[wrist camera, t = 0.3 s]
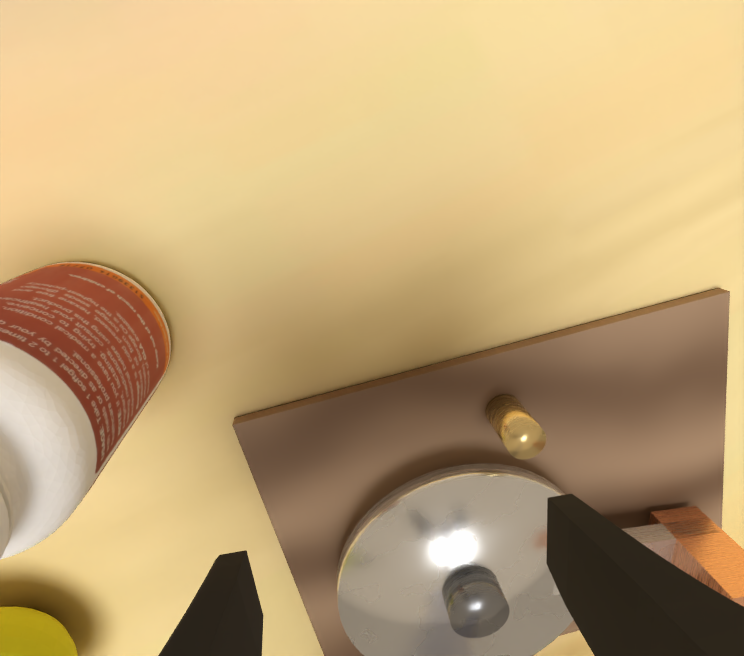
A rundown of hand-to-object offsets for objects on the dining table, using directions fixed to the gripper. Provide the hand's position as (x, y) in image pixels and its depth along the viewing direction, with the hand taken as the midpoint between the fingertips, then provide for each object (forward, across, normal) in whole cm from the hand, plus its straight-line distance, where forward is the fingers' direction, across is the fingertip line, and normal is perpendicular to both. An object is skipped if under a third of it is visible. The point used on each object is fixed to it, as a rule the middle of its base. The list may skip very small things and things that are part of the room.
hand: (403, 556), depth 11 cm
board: (+10, -6, +9) cm, 15 cm away
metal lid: (+9, -7, +10) cm, 15 cm away
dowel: (+10, -6, +2) cm, 12 cm away
